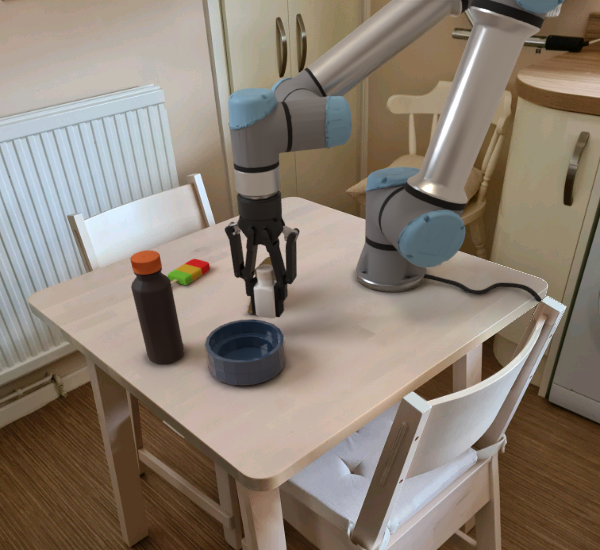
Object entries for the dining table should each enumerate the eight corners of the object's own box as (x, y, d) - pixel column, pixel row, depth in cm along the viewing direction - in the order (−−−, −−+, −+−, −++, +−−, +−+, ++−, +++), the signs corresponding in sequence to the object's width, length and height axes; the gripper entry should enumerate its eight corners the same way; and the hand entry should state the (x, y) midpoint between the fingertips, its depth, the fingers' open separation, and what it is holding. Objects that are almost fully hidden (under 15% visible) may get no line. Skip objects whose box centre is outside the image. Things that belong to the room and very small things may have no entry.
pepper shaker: (255, 317, 118) (250, 271, 112) (262, 306, 121) (258, 262, 115) (274, 319, 117) (271, 274, 111) (281, 309, 120) (278, 264, 114)
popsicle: (212, 269, 143) (211, 261, 142) (168, 297, 133) (167, 290, 132) (194, 264, 146) (193, 257, 144) (150, 292, 136) (148, 284, 135)
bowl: (295, 349, 116) (293, 324, 112) (269, 393, 105) (267, 367, 102) (227, 339, 119) (224, 315, 116) (196, 381, 109) (191, 355, 106)
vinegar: (168, 340, 120) (147, 244, 107) (191, 352, 116) (173, 254, 104) (140, 356, 116) (116, 258, 103) (164, 369, 112) (142, 269, 100)
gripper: (313, 187, 104) (316, 308, 119) (221, 180, 109) (235, 297, 124) (299, 203, 99) (304, 328, 113) (203, 195, 103) (219, 316, 118)
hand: (268, 311), depth 118 cm, fingers closed on pepper shaker, 4 cm apart
